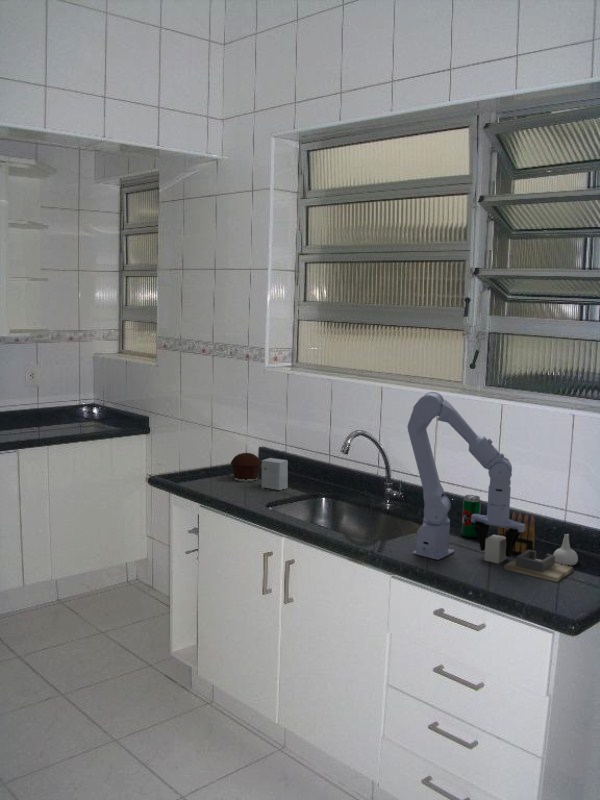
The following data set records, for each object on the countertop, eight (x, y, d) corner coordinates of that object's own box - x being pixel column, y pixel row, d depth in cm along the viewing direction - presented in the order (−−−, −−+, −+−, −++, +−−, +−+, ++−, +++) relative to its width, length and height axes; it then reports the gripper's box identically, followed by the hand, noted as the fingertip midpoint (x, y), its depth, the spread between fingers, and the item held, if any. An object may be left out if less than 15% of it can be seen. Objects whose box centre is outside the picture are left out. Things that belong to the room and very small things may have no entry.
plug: (498, 563, 208) (499, 541, 207) (484, 560, 210) (485, 538, 209) (507, 558, 212) (508, 537, 211) (493, 555, 214) (494, 534, 214)
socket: (542, 572, 198) (542, 563, 198) (515, 566, 203) (515, 556, 202) (554, 564, 205) (555, 555, 204) (528, 558, 209) (528, 549, 209)
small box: (287, 488, 285) (288, 460, 283) (279, 491, 280) (279, 462, 279) (269, 485, 289) (270, 457, 287) (260, 488, 284) (261, 459, 283)
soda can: (479, 539, 229) (481, 499, 227) (461, 537, 230) (463, 497, 228) (478, 534, 234) (480, 495, 232) (461, 532, 235) (463, 493, 233)
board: (557, 582, 195) (557, 578, 195) (504, 568, 203) (504, 565, 203) (572, 570, 203) (573, 567, 203) (521, 558, 212) (521, 555, 212)
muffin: (249, 475, 305) (250, 449, 304) (266, 480, 297) (267, 454, 295) (224, 478, 298) (224, 452, 296) (241, 484, 289) (241, 457, 288)
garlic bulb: (572, 560, 213) (573, 531, 213) (581, 566, 207) (582, 536, 207) (549, 560, 213) (550, 531, 213) (558, 566, 207) (559, 536, 206)
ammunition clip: (495, 550, 218) (497, 509, 217) (498, 549, 220) (500, 507, 218) (532, 559, 212) (535, 516, 210) (534, 557, 213) (537, 514, 212)
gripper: (530, 505, 207) (527, 555, 209) (480, 496, 216) (477, 543, 218) (519, 510, 202) (516, 561, 204) (468, 500, 211) (466, 549, 213)
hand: (495, 552), depth 210 cm, fingers open, 7 cm apart
